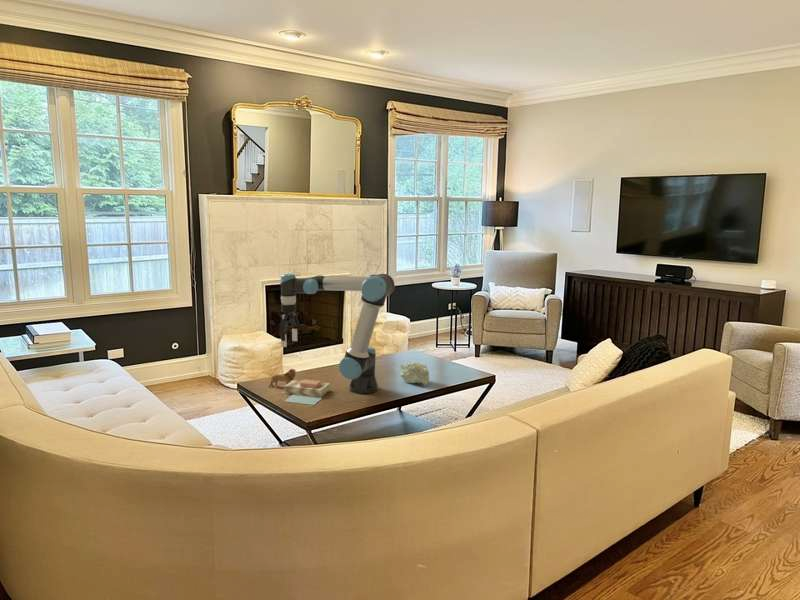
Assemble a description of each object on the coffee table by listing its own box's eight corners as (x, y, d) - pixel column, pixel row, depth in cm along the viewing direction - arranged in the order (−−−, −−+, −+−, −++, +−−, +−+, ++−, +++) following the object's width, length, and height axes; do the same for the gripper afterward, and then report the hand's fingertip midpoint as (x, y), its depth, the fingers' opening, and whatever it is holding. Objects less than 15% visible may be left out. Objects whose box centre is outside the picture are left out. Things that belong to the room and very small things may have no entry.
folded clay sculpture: (405, 393, 325) (394, 368, 326) (423, 384, 331) (412, 359, 332) (420, 389, 309) (408, 363, 310) (439, 380, 316) (427, 354, 317)
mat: (322, 398, 293) (322, 397, 292) (314, 405, 282) (314, 404, 282) (293, 394, 296) (293, 394, 296) (283, 401, 286) (283, 401, 286)
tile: (320, 384, 301) (320, 381, 301) (316, 388, 295) (316, 384, 295) (304, 382, 303) (304, 379, 303) (299, 386, 298) (299, 382, 297)
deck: (329, 390, 305) (330, 383, 304) (321, 397, 293) (321, 390, 293) (294, 386, 310) (294, 379, 309) (284, 393, 298) (284, 385, 297)
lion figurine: (294, 383, 315) (294, 367, 314) (297, 386, 310) (297, 370, 309) (267, 386, 309) (267, 369, 307) (269, 389, 304) (269, 372, 303)
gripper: (291, 299, 313) (292, 338, 317) (271, 307, 289) (272, 348, 293) (304, 300, 312) (305, 339, 315) (285, 308, 288) (286, 349, 291)
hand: (289, 343), depth 304 cm, fingers open, 13 cm apart
